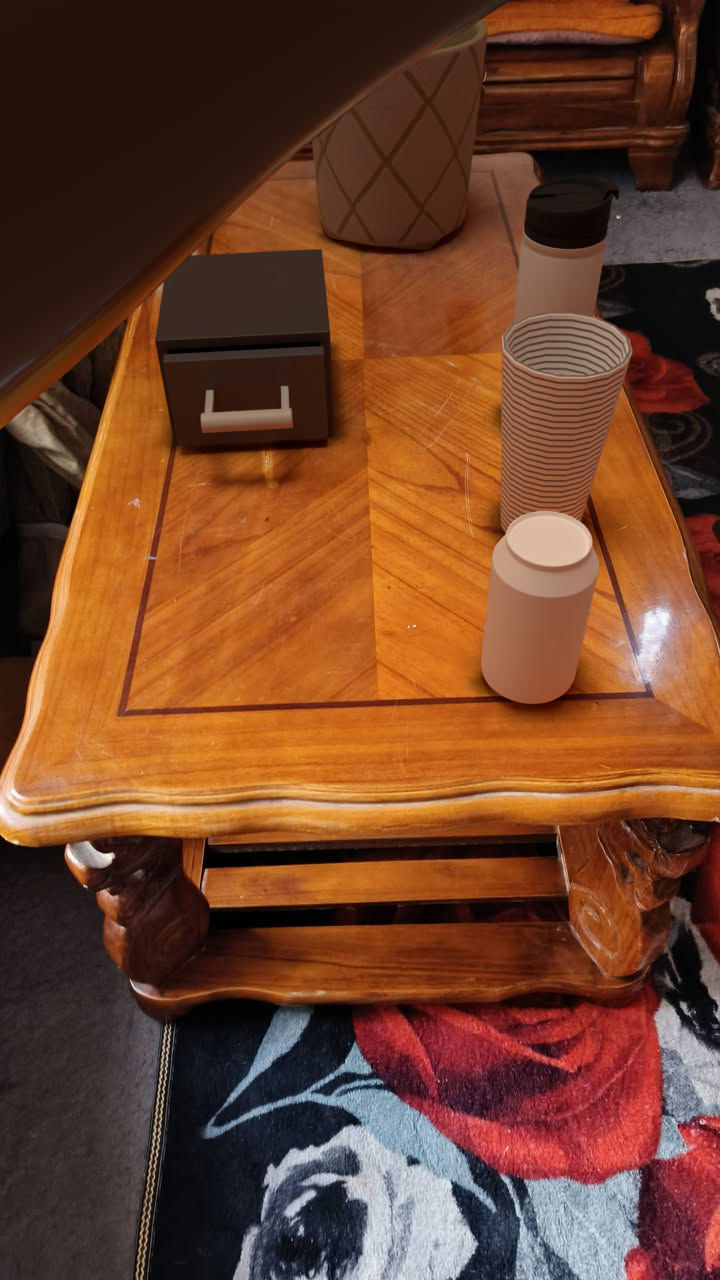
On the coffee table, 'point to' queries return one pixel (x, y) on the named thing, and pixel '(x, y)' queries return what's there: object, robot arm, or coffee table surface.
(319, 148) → the planter
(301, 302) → the single drawer box
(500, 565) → the beverage can
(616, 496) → the coffee table surface
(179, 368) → the pull-out drawer
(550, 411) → the cup
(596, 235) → the travel mug
